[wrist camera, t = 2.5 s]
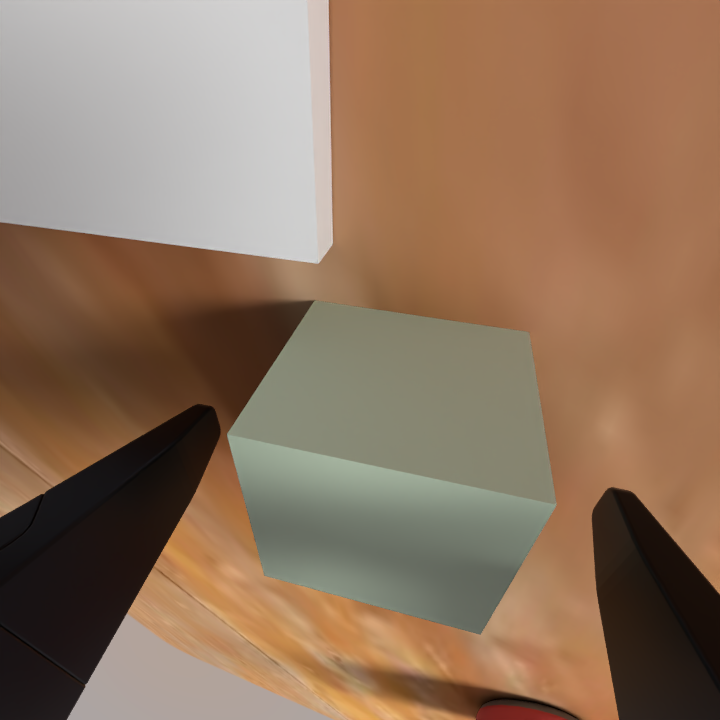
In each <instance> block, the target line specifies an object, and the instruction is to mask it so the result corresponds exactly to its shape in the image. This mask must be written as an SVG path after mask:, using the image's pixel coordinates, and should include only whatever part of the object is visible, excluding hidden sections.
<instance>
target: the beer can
mask: <svg viewBox="0 0 720 720" xmlns="http://www.w3.org/2000/svg"><path fill="white" fill-rule="evenodd" d="M476 720H578V719H576V718H574V717H572V716H571V715H569V714H567V713H565V712H562V711H560V710H557V709H554V708H552V707H548V706H545V705H541V704H537V703H533V702H527V701H521V700H509V699H503V700H493V701H490V702H488V703H485V704H484V705H482V706H481V708H480V709H479V711H478V713H477V716H476Z"/></svg>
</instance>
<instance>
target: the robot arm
mask: <svg viewBox="0 0 720 720" xmlns="http://www.w3.org/2000/svg"><path fill="white" fill-rule="evenodd" d="M219 437H220V425H219V422H218V418H217V415H216V411H215V409H214V408H213V407H212V406H208V405H203V404H196V405H194V406H192V407H190V408H189V409H187V410H185V411H183V412H182V413H180V414H178V415H177V416H175V417H173V418H171V419H170V420H168V421H166V422H165V423H163V424H161V425H159V426H158V427H156V428H154V429H153V430H151V431H149V432H147V433H146V434H144V435H142V436H140V437H139V438H137V439H135V440H134V441H132V442H130V443H128V444H127V445H125V446H123V447H122V448H120V449H118V450H116V451H115V452H113V453H111V454H110V455H108V456H106V457H104V458H103V459H101V460H99V461H98V462H96V463H94V464H92V465H91V466H89V467H87V468H86V469H84V470H82V471H80V472H79V473H77V474H75V475H73V476H72V477H70V478H68V479H67V480H65V481H63V482H61V483H60V484H58V485H56V486H55V487H53V488H51V489H49V490H48V491H46V492H45V494H41V495H39V496H37V497H35V498H34V499H32V500H30V501H29V502H27V503H25V504H23V505H22V506H20V507H18V508H16V509H15V510H13V511H11V512H9V513H7V514H6V515H4V516H2V517H0V720H67V718H68V716H69V715H70V713H71V711H72V709H73V708H74V706H75V704H76V702H77V701H78V699H79V697H80V695H81V693H82V692H83V690H84V688H85V684H87V683H88V681H89V679H90V677H91V675H92V674H93V672H94V670H95V668H96V666H97V665H98V663H99V661H100V660H101V658H102V656H103V654H104V653H105V651H106V649H107V647H108V646H109V644H110V642H111V640H112V639H113V637H114V635H115V633H116V631H117V630H118V628H119V626H120V624H121V623H122V621H123V619H124V617H125V615H126V614H127V612H128V610H129V609H130V607H131V605H132V603H133V602H134V600H135V598H136V596H137V595H138V593H139V591H140V589H141V588H142V586H143V584H144V582H145V580H146V579H147V577H148V575H149V573H150V572H151V570H152V568H153V566H154V565H155V563H156V561H157V559H158V558H159V556H160V554H161V552H162V551H163V549H164V547H165V545H166V544H167V542H168V540H169V538H170V537H171V535H172V533H173V531H174V529H175V528H176V526H177V524H178V522H179V521H180V519H181V517H182V515H183V514H184V512H185V510H186V508H187V507H188V505H189V503H190V501H191V499H192V498H193V496H194V494H195V492H196V490H197V488H198V485H199V483H200V481H201V479H202V476H203V474H204V472H205V470H206V467H207V465H208V463H209V460H210V458H211V456H212V453H213V451H214V449H215V447H216V444H217V442H218V440H219ZM592 529H593V545H594V562H595V578H596V590H597V597H598V603H599V609H600V615H601V620H602V626H603V631H604V637H605V643H606V648H607V654H608V660H609V665H610V671H611V676H612V682H613V688H614V693H615V699H616V704H617V710H618V716H619V720H720V594H719V593H718V592H717V590H716V589H715V588H714V587H713V586H712V585H711V583H710V582H709V581H708V580H707V579H706V578H705V576H704V575H703V574H702V573H701V572H700V570H699V569H698V568H697V567H696V566H695V565H694V563H693V562H692V561H691V560H690V559H689V558H688V556H687V555H686V554H685V553H684V552H683V550H682V549H681V548H680V547H679V546H678V545H677V543H676V542H675V541H674V540H673V539H672V538H671V536H670V535H669V534H668V533H667V532H666V530H665V529H664V528H663V527H662V526H661V525H660V523H659V522H658V521H657V520H656V519H655V517H654V516H653V515H652V514H651V513H650V512H649V510H648V509H647V508H646V507H645V506H644V505H643V503H642V502H641V501H640V500H639V499H638V497H637V496H636V495H635V494H634V493H632V492H631V491H628V490H624V489H619V488H614V487H611V488H608V489H607V490H606V491H605V493H604V494H603V496H602V497H601V499H600V500H599V501H598V503H597V504H596V506H595V507H594V509H593V513H592Z"/></svg>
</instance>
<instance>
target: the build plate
mask: <svg viewBox="0 0 720 720" xmlns="http://www.w3.org/2000/svg"><path fill="white" fill-rule="evenodd" d="M0 222H4V223H11V224H19V225H27V226H34V227H42V228H50V229H57V230H65V231H73V232H80V233H88V234H96V235H103V236H111V237H118V238H126V239H134V240H141V241H149V242H157V243H164V244H172V245H180V246H187V247H195V248H202V249H210V250H218V251H225V252H233V253H241V254H248V255H256V256H264V257H271V258H279V259H286V260H294V261H302V262H309V263H317V264H318V263H319V262H320V261H321V259H322V258H323V257H324V255H325V254H326V253H327V251H328V250H329V249H330V247H331V246H332V245H333V228H332V171H331V114H330V57H329V0H0Z"/></svg>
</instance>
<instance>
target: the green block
mask: <svg viewBox="0 0 720 720" xmlns="http://www.w3.org/2000/svg"><path fill="white" fill-rule="evenodd" d="M227 437H228V441H229V444H230V448H231V452H232V456H233V459H234V463H235V467H236V471H237V474H238V478H239V482H240V486H241V489H242V493H243V497H244V501H245V504H246V508H247V512H248V516H249V519H250V523H251V527H252V531H253V534H254V538H255V542H256V546H257V549H258V553H259V557H260V561H261V564H262V568H263V572H264V576H268V577H271V578H275V579H279V580H282V581H286V582H290V583H293V584H297V585H301V586H304V587H308V588H312V589H315V590H319V591H323V592H326V593H330V594H334V595H337V596H341V597H344V598H348V599H352V600H355V601H359V602H363V603H366V604H370V605H374V606H377V607H381V608H385V609H388V610H392V611H396V612H399V613H403V614H407V615H410V616H414V617H418V618H421V619H425V620H429V621H432V622H436V623H440V624H443V625H447V626H451V627H454V628H458V629H462V630H465V631H469V632H473V633H476V634H480V635H481V633H482V631H483V629H484V628H485V626H486V624H487V623H488V621H489V619H490V618H491V616H492V614H493V612H494V611H495V609H496V607H497V606H498V604H499V602H500V601H501V599H502V597H503V595H504V594H505V592H506V590H507V589H508V587H509V585H510V583H511V582H512V580H513V578H514V577H515V575H516V573H517V572H518V570H519V568H520V566H521V565H522V563H523V561H524V560H525V558H526V556H527V555H528V553H529V551H530V549H531V548H532V546H533V544H534V543H535V541H536V539H537V537H538V536H539V534H540V532H541V531H542V529H543V527H544V526H545V524H546V522H547V520H548V519H549V517H550V515H551V514H552V512H553V510H554V509H555V507H556V505H557V504H556V498H555V492H554V485H553V479H552V473H551V466H550V460H549V454H548V447H547V441H546V435H545V429H544V422H543V416H542V410H541V403H540V397H539V391H538V384H537V378H536V372H535V365H534V359H533V353H532V347H531V340H530V334H529V332H525V331H518V330H511V329H505V328H498V327H491V326H484V325H478V324H471V323H464V322H457V321H451V320H444V319H437V318H430V317H424V316H417V315H410V314H403V313H397V312H390V311H383V310H376V309H370V308H363V307H356V306H349V305H343V304H336V303H329V302H322V301H316V300H315V301H314V302H313V304H312V305H311V307H310V308H309V310H308V311H307V313H306V314H305V316H304V318H303V319H302V321H301V322H300V324H299V325H298V327H297V328H296V330H295V331H294V333H293V334H292V336H291V337H290V339H289V340H288V342H287V343H286V345H285V346H284V348H283V350H282V351H281V353H280V354H279V356H278V357H277V359H276V360H275V362H274V363H273V365H272V366H271V368H270V369H269V371H268V372H267V374H266V375H265V377H264V378H263V380H262V382H261V383H260V385H259V386H258V388H257V389H256V391H255V392H254V394H253V395H252V397H251V398H250V400H249V401H248V403H247V404H246V406H245V407H244V409H243V410H242V412H241V414H240V415H239V417H238V418H237V420H236V421H235V423H234V424H233V426H232V427H231V429H230V430H229V432H228V433H227Z"/></svg>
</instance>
